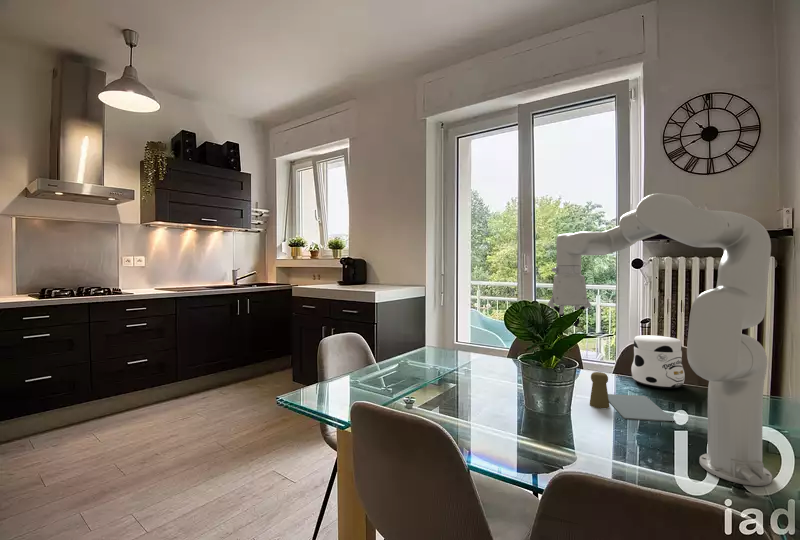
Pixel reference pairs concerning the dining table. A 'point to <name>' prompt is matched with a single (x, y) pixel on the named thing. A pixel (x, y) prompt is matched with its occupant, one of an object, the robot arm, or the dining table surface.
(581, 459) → the dining table surface
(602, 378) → the cork
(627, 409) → the mat
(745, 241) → the robot arm
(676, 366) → the milk container
